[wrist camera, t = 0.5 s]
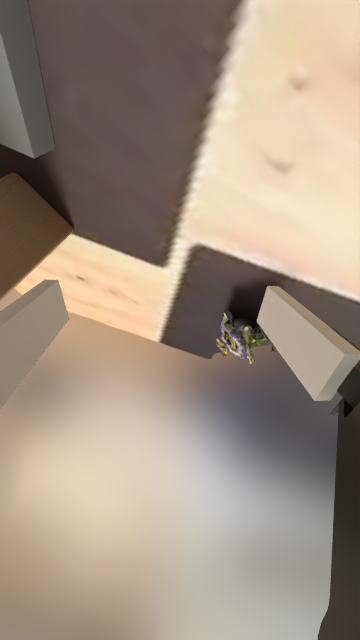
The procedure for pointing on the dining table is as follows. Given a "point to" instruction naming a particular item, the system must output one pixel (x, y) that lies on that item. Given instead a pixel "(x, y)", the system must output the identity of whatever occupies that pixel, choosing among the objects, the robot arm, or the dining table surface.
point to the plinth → (21, 84)
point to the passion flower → (239, 338)
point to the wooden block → (25, 231)
